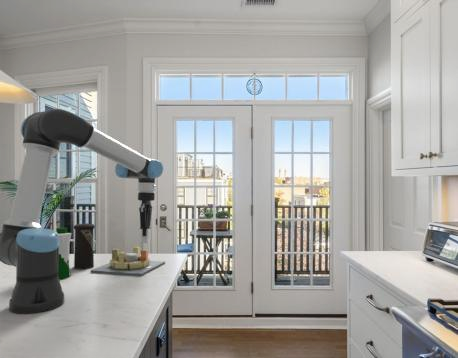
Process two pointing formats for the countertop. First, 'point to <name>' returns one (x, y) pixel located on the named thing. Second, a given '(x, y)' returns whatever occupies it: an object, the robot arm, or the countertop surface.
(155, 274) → the countertop surface
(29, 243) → the robot arm
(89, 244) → the container
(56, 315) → the countertop surface
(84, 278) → the countertop surface
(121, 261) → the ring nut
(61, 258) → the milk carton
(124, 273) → the slate plate
